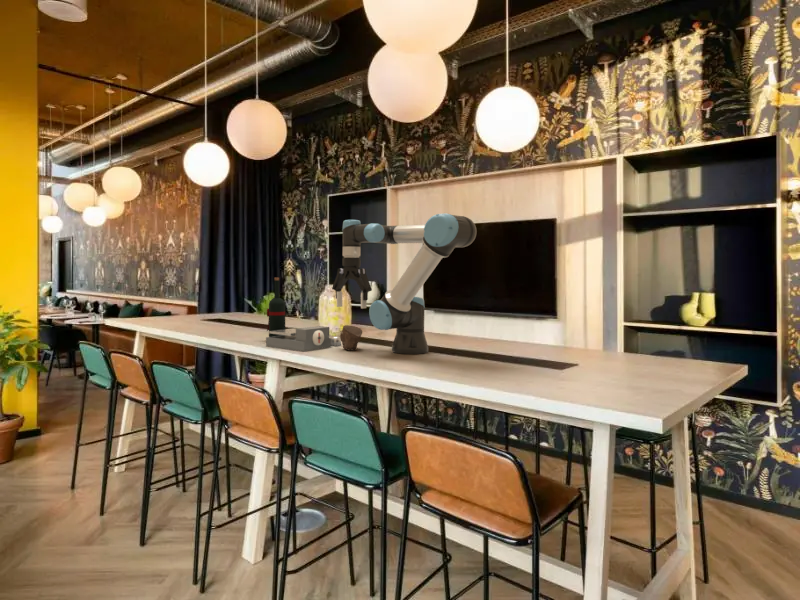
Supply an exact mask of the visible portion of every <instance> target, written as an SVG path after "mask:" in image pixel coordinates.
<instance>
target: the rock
mask: <svg viewBox="0 0 800 600" xmlns="http://www.w3.org/2000/svg"><path fill="white" fill-rule="evenodd" d="M362 334H363V330H362V329H361V327H358V326H355V325H348V324H346V325H343V326H342V330H341V331H340V335H339V336H340V339H341V346H342V348H343V349H344V350H345V351H354V352H355V351H356V350H357V349H358V348H357V347H358V344H359V341H360V339H361V336H362Z"/></svg>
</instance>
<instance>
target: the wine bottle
mask: <svg viewBox="0 0 800 600" xmlns="http://www.w3.org/2000/svg"><path fill="white" fill-rule="evenodd" d="M266 316H267V318H268V323H267V330H266V332H268V337H272V336H280V335H279V334H271V333H269V331H274V330H283V329H286V301H285V300H284V299H282V298H280V277H274V297H273V298H272V299H271V300H270V301H269V302H268V308H267V309H266Z"/></svg>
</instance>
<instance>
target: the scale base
mask: <svg viewBox="0 0 800 600" xmlns="http://www.w3.org/2000/svg"><path fill="white" fill-rule="evenodd" d="M295 329H296V335H295V336H288V335H280V336H272V337H269V336H265V347H267V346H268V348H269V347H270V348H275V349H283V350H289V351H297V352H309V351H311V352H312V351H316V350H323V349H329V348H331V347H332V346H331V338H329V335H330V326H323V325H317V326H309V327H308V326H307V327H301V328H300V327H299V328H295Z"/></svg>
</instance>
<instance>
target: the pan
mask: <svg viewBox="0 0 800 600" xmlns="http://www.w3.org/2000/svg"><path fill="white" fill-rule="evenodd" d="M296 329H297V328H294V327H292V328H285V329H283V330H274V331H269V330H268V334H269V333H271V334H279V335H288V336H295V335H296Z"/></svg>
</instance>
